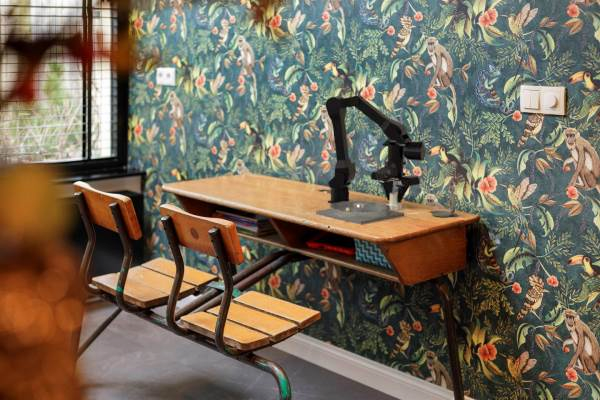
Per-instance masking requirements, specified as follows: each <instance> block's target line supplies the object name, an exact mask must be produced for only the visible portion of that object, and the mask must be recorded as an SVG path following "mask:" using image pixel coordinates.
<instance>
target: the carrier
mask: <svg viewBox="0 0 600 400" xmlns="http://www.w3.org/2000/svg"><path fill="white" fill-rule="evenodd" d="M337 209H338V210H343V211H351V212H353V207H343V208H337ZM377 211H382V209H378V208H371V207H367V212H377ZM318 214H319V216H322V215H323V217H327V218H331V219H335V220H340V221H345V222H348V223H352V224H357V225H366V224H370V223H375V222H376V223H377V222H380V221H384V220H390V219H395V218H399V217H404V216H405V212H400V211H398V210H390V214H389V215H387V216H384V217H379V218H347V217H341V216H336V215H334V214H332V213H330V208H328V209H321V210H316V211H315V215H318Z"/></svg>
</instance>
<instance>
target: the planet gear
mask: <svg viewBox="0 0 600 400" xmlns="http://www.w3.org/2000/svg"><path fill="white" fill-rule="evenodd" d="M385 204H386V205H388V206H390V210H392V211H399V210H403V205H402V203H398V192H392V193H390V199H389V202H388V203H385Z"/></svg>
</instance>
